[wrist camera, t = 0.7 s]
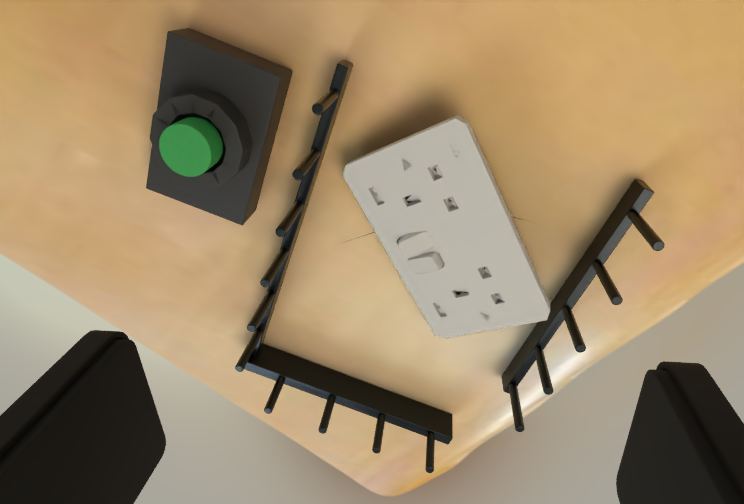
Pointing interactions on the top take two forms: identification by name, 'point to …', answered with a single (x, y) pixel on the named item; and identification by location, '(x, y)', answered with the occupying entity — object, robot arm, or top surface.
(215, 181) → the control block
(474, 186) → the wall socket
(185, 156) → the button
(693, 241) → the top surface
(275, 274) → the dish rack
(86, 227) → the top surface
